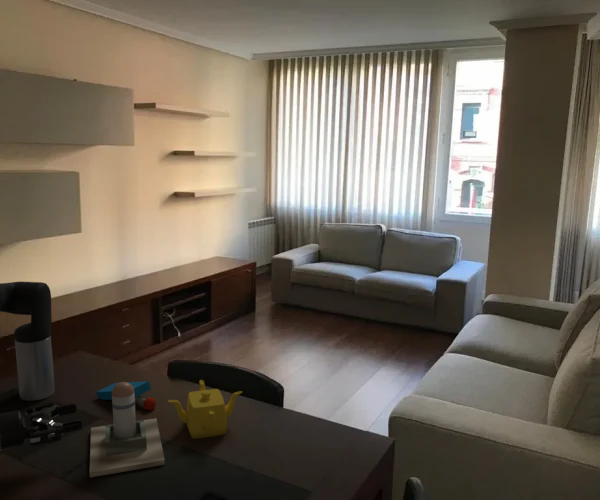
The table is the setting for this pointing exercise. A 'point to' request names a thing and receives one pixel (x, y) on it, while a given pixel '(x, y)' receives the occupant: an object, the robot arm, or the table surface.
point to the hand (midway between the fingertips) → (78, 415)
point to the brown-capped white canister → (123, 411)
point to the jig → (125, 449)
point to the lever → (138, 390)
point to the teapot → (206, 412)
